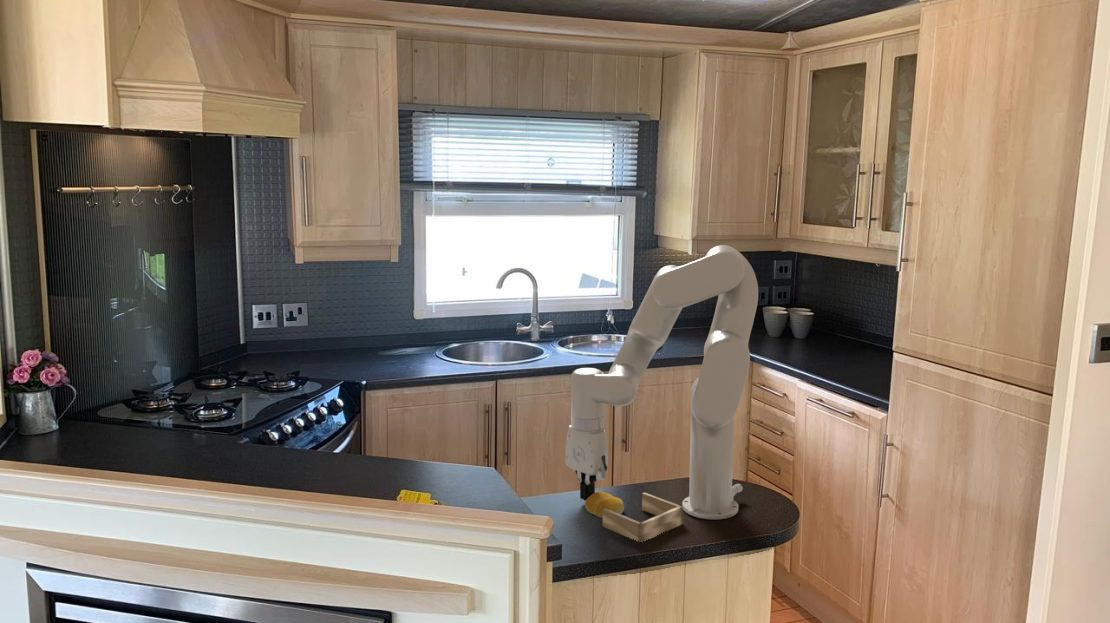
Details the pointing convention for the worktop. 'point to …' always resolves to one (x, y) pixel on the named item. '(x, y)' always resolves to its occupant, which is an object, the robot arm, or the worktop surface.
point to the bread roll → (603, 504)
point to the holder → (664, 520)
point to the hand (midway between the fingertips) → (587, 498)
